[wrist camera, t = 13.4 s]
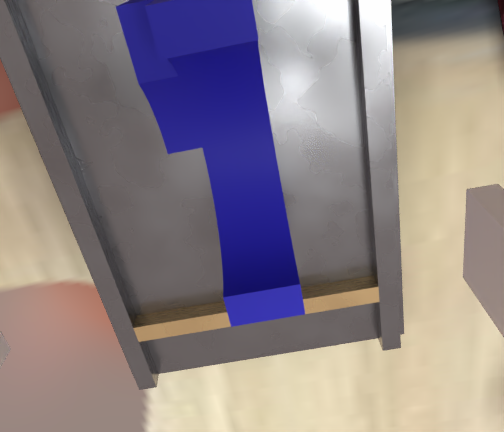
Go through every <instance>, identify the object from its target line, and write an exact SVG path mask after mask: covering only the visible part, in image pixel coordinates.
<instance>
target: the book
mask: <svg viewBox="0 0 504 432" xmlns="http://www.w3.org/2000/svg"><path fill="white" fill-rule="evenodd" d="M498 6H499V11H500V17H501V22H502V28H503V34H504V0H498Z"/></svg>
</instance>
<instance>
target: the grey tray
mask: <svg viewBox="0 0 504 432" xmlns="http://www.w3.org/2000/svg"><path fill="white" fill-rule="evenodd" d="M127 1H129V0H0V59H1V61H2V64H3V66H4V68H5V71H6V73H7V76H8V78H9V80H10V83H11V85H12V87H13V90H14V92H15V95H16V97H17V99H18V102H19V104H20V107H21V109H22V111H23V114H24V116H25V119H26V121H27V123H28V126H29V128H30V131H31V133H32V135H33V138H34V140H35V142H36V145H37V147H38V150H39V152H40V154H41V157H42V159H43V162H44V164H45V166H46V169H47V171H48V173H49V176H50V178H51V181H52V183H53V185H54V188H55V190H56V193H57V195H58V197H59V200H60V202H61V204H62V207H63V209H64V212H65V214H66V216H67V219H68V221H69V224H70V226H71V228H72V231H73V233H74V236H75V238H76V240H77V243H78V245H79V247H80V250H81V252H82V255H83V257H84V259H85V262H86V264H87V267H88V269H89V271H90V274H91V276H92V278H93V281H94V283H95V286H96V288H97V290H98V293H99V295H100V298H101V300H102V302H103V305H104V307H105V309H106V312H107V314H108V317H109V319H110V321H111V324H112V326H113V329H114V331H115V333H116V336H117V338H118V340H119V343H120V345H121V348H122V350H123V352H124V355H125V357H126V360H127V362H128V364H129V367H130V369H131V372H132V374H133V376H134V378H135V380H136V383H137V385H138V387H139V390H141V389H148V388H154V387H157V381H158V375H159V374H160V373H167V372H173V371H179V370H185V369H191V368H197V367H203V366H210V365H216V364H222V363H228V362H234V361H240V360H247V359H253V358H259V357H265V356H271V355H277V354H283V353H290V352H296V351H302V350H308V349H314V348H320V347H327V346H333V345H339V344H345V343H351V342H357V341H363V340H370V339H376V338H378V339H379V342H380V344H381V347H382V350H383V351H384V350H390V349H396V348H401V342H400V334H404V320H403V295H402V270H401V245H400V220H399V195H398V170H397V145H396V120H395V95H394V70H393V44H392V19H391V0H252V3H253V9H254V15H255V21H256V27H257V33H258V39H259V40H258V47H259V55H260V62H261V68H262V75H263V81H264V88H265V94H266V100H267V106H268V112H269V118H270V124H271V129H272V135H273V141H274V147H275V152H276V158H277V164H278V169H279V175H280V181H281V186H282V192H283V197H284V202H285V208H286V213H287V219H288V224H289V229H290V235H291V240H292V245H293V250H294V255H295V261H296V266H297V271H298V276H299V280H300V286H301V291H302V297H303V303H304V309H305V314H304V315H298V316H292V317H286V318H281V319H275V320H269V321H263V322H257V323H251V324H245V325H239V326H233V327H231V325H230V321H229V317H228V313H227V310H226V306H225V302H224V299H223V271H222V258H221V248H220V240H219V232H218V225H217V218H216V212H215V206H214V200H213V195H212V189H211V184H210V179H209V174H208V170H207V165H206V161H205V157H204V152H203V148H198V149H193V150H188V151H182V152H177V153H172V154H168V153H167V150H166V147H165V143H164V140H163V137H162V134H161V131H160V128H159V126H158V123H157V121H156V118H155V116H154V113H153V111H152V109H151V106H150V104H149V102H148V100H147V98H146V96H145V94H144V92H143V91H142V89H141V87H140V86H139V84H138V81H137V77H136V74H135V71H134V67H133V64H132V60H131V57H130V54H129V50H128V47H127V44H126V40H125V37H124V33H123V30H122V27H121V23H120V20H119V17H118V13H117V10H116V6H118V5H120V4H123V3H125V2H127Z"/></svg>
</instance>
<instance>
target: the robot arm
mask: <svg viewBox="0 0 504 432" xmlns="http://www.w3.org/2000/svg"><path fill="white" fill-rule="evenodd" d="M463 278H464V279H465V281H466V282H467V284H468V285H469V287H470V288H471V290H472V291H473V293H474V294H475V296H476V297H477V299H478V300H479V302H480V303H481V305H482V306H483V307H484V309H485V310H486V312H487V313H488V315H489V316H490V318H491V319H492V321H493V322H494V324H495V325H496V327H497V328H498V330H499V331H500V333H501V334H502V336H503V337H504V189H503V188H502V187H501V186H500V185H499V184H494V185H488V186H482V187H476V188H470V189H467V193H466V216H465V239H464V263H463ZM10 349H11V348H10V346H9V345H8V343H7V341H6V340H5V338H4V336H3V334H2V333H1V331H0V368H1V366H2V364H3V362H4V360H5V359H6V357H7V355H8V353H9V351H10Z"/></svg>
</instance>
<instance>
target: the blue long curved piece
mask: <svg viewBox="0 0 504 432" xmlns="http://www.w3.org/2000/svg"><path fill="white" fill-rule="evenodd" d="M116 10H117V13H118V17H119V20H120V23H121V27H122V30H123V33H124V37H125V40H126V44H127V47H128V50H129V54H130V57H131V60H132V64H133V67H134V71H135V74H136V77H137V81H138V84H139V86H140V87H141V89H142V91H143V92H144V94H145V96H146V98H147V100H148V102H149V104H150V106H151V109H152V111H153V113H154V116H155V118H156V121H157V123H158V126H159V128H160V131H161V134H162V137H163V140H164V143H165V147H166V150H167V153H168V154H172V153H177V152H182V151H188V150H193V149H198V148H203V152H204V157H205V161H206V165H207V170H208V174H209V179H210V184H211V189H212V195H213V200H214V206H215V212H216V218H217V225H218V232H219V240H220V248H221V258H222V271H223V299H224V302H225V306H226V310H227V313H228V317H229V321H230V325H231V327H233V326H239V325H245V324H251V323H257V322H263V321H269V320H275V319H281V318H286V317H292V316H298V315H304V314H305V309H304V303H303V297H302V291H301V286H300V280H299V276H298V271H297V266H296V261H295V255H294V250H293V245H292V240H291V235H290V229H289V224H288V219H287V213H286V208H285V202H284V197H283V192H282V186H281V181H280V175H279V169H278V164H277V158H276V152H275V147H274V141H273V135H272V129H271V124H270V118H269V112H268V106H267V100H266V94H265V88H264V81H263V75H262V68H261V62H260V55H259V47H258V40H259V39H258V33H257V27H256V21H255V15H254V9H253V3H252V0H129V1H127V2H125V3H123V4H120V5H118V6H116Z"/></svg>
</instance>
